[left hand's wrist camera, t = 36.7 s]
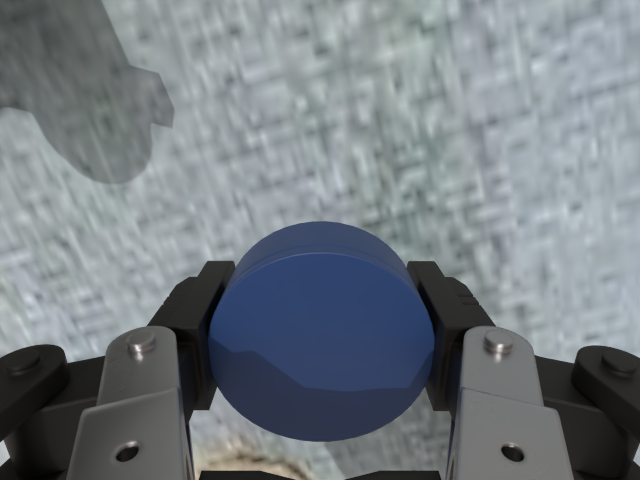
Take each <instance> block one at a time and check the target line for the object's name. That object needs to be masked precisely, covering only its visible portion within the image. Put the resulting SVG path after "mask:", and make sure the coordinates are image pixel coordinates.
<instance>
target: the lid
mask: <svg viewBox="0 0 640 480" xmlns="http://www.w3.org/2000/svg"><path fill="white" fill-rule="evenodd" d="M434 341H435V335H434V330H433V325H432V322H431V319H430V317H429V314H428V311H427V309H426V307H425V305H424V303H423V301H422V299H421V297H420V295H419V293H418V290H417V288H416V286H415V284H414V282H413V280H412V278H411V276H410V274H409V272H408V270H407V268H406V267H405V265H404V263H403V262H402V260H401V259H400V258H399V256H398V255H397V254H396V253H395V252H394V251H393V250H392V249H391V248H390V247H389V246H388V245H387V244H386V243H384V242H383V241H381V240H380V239H379V238H377V237H376V236H374V235H372V234H370V233H368V232H366V231H364V230H362V229H359V228H356V227H354V226H350V225H346V224H342V223H335V222H326V221H325V222H307V223H300V224H296V225H292V226H288V227H285V228H283V229H280V230H278V231H276V232H274V233H272V234H270V235H268V236H267V237H265V238H263V239H262V240H260V241H259V242H258V243H257V244H255V245H254V246H253V247H252V248H251V249H250V250H249V251H248V252H247V253H246V254H245V255H244V256H243V258H242V259H241V260H240V262H239V263H238V265H237V266H236V268H235V270H234V272H233V274H232V276H231V278H230V280H229V282H228V284H227V287H226V289H225V291H224V293H223V295H222V297H221V299H220V301H219V304H218V306H217V308H216V310H215V312H214V314H213V317H212V320H211V323H210V326H209V332H208V346H209V354H210V363H211V370H212V376H213V378H214V380H215V382H216V384H217V386H218V388H219V390H220V391H221V393H222V394H223V396H224V397H225V399H226V400H227V401H228V402H229V403H230V404H231V405H232V407H233V408H235V409H236V410H237V411H238V412H239V413H240V414H241V415H242V416H244V417H245V418H247V419H248V420H249V421H251V422H252V423H254V424H256V425H258V426H259V427H261V428H263V429H265V430H268V431H270V432H272V433H275V434H277V435H281V436H284V437H288V438H292V439H297V440H303V441H314V442H330V441H339V440H345V439H350V438H355V437H358V436H361V435H364V434H368V433H370V432H372V431H375V430H377V429H379V428H381V427H383V426H385V425H386V424H388V423H390V422H392V421H393V420H394V419H396V418H397V417H398V416H400V415H401V414H402V413H403V412H404V411H405V410H407V409H408V408H409V407H410V406H411V405H412V403H413V402H414V401H415V400H416V399H417V397H418V396H419V395H420V393H421V392H422V390H423V388H424V387H425V385H426V383H427V381H428V378H429V376H430V373H431V367H432V359H433V351H434Z"/></svg>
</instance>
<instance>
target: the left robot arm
mask: <svg viewBox="0 0 640 480" xmlns="http://www.w3.org/2000/svg"><path fill="white" fill-rule="evenodd" d="M234 270H235V264H234V261H207V263H206V264H205V266H204V267H203V269H202V270H201V272H200V274H199V275H198V277H188V278H187V279H185V280H184V281H182V282H180V283H179V284H177V285H176V286H175V288H174V289H173V290H172V292H171V293H170V295H169V297H167V299H166V300H165V301H164V305H162V306H161V307H160V308H159V310H158V311H157V312H156V314H155V315H154V317H153V318H152V319H151V321H150V322H149V324H148V325H147V326H146V327H141V328H137V329H133V330H131V331H128V332H126V333H124V334H122V335H120V336H119V337H117V338H116V339H115V340H113V341H112V342H111V343H110V345H109V346H108V348H107V351H106V355H105V356H101V357H97V358H92V359H87V360H82V361H77V362H71V363H67V360H66V356H65V353H64V351H63V349H62V348H61V347H59V346H56V345H49V344H45V345H35V346H30V347H26V348H22V349H19V350H16V351H14V352H11V353H9V354H7V355H5V356H3V357H1V358H0V442H1V441H2V440H3V439H4V442H5V445H6V447H7V450H8V453H9V455H10V458H9V459H8V460H7V461H6V462H5V463H4V464H3V465H2V466H1V467H0V480H195V471H194V461H193V452H192V442H191V432H190V425H189V421H190V418H191V416H192V413H193V411H194V410H209V409H210V406H211V403H212V400H213V397H214V394H215V391H216V388H217V384H216V382H215V380H214V378H213V376H212V370H211V363H210V354H209V346H208V332H209V326H210V323H211V320H212V317H213V314H214V312H215V310H216V308H217V306H218V304H219V301H220V299H221V297H222V295H223V293H224V291H225V289H226V287H227V284H228V282H229V280H230V278H231V276H232V274H233V272H234ZM407 270H408V272H409V274H410V276H411V278H412V280H413V282H414V284H415V286H416V288H417V290H418V293H419V295H420V297H421V299H422V301H423V303H424V305H425V307H426V309H427V311H428V314H429V317H430V319H431V322H432V325H433V330H434V335H435V341H434V351H433V359H432V367H431V373H430V376H429V378H428V381H427V383H426V385H425V388H426V390H427V393H428V396H429V399H430V402H431V405H432V408H433V410H434V411H450V414H451V416H452V419H451V425H450V432H449V442H448V452H447V461H446V471H445V480H640V467H639V466H638V465H637V464H636V463H635V462H634V461H633V459H634V456H635V454H636V451H637V449H638V446H639V444H640V358H638V357H636V356H634V355H632V354H630V353H628V352H625V351H622V350H619V349H615V348H611V347H606V346H586V347H583V348H581V349H580V350H579V351H578V353H577V356H576V359H575V363H568V362H563V361H558V360H553V359H548V358H543V357H539V356H536V355H534V351H533V348H532V346H531V345H530V343H529V342H528V341H527V340H525V339H524V338H523V337H521V336H520V335H518V334H516V333H514V332H512V331H509V330H507V329H503V328H499V327H496V326H495V324H494V323H493V322H492V320H491V319H490V317H489V316H488V315H487V313H486V312H485V311H484V309H483V308H482V307H481V305H479V302H478V301H477V300H476V298H475V297H473V294H472V293H471V292H470V290H469V289H468V288H467V286H466V285H464V284H463V283H461V282H460V281H458V280H456V279H455V278H453V277H445V276H444V275H443V273H442V272H441V270H440V269H439V267H438V266H437V264H436V263H435V262H434V261H409V262H408V264H407ZM199 480H294V479H290V478H286V477H283V476H279V475H275V474H271V473H267V472H263V471H201V474H200V477H199ZM346 480H441V477H440V474H439V471H377V472H373V473H369V474H365V475H361V476H357V477H354V478H350V479H346Z"/></svg>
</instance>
